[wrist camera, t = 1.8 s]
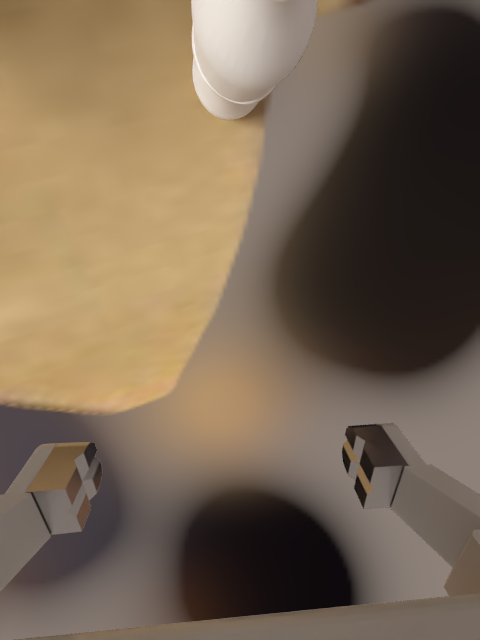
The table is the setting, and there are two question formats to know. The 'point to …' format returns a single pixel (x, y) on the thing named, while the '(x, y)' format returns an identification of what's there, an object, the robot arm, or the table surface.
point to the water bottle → (246, 49)
